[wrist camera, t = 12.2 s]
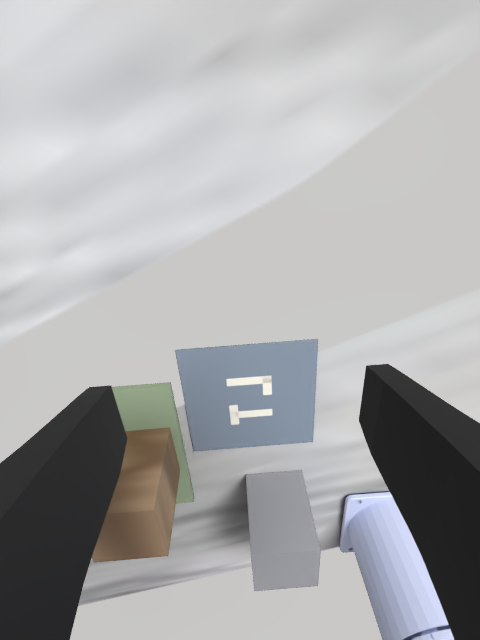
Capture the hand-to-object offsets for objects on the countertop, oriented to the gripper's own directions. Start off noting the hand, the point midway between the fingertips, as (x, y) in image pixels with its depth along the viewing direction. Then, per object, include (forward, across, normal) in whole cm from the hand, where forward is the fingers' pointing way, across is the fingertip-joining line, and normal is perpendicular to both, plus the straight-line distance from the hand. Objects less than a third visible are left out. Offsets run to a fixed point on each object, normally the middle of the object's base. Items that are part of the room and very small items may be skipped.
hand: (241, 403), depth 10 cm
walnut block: (+10, +8, +13) cm, 18 cm away
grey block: (+10, -2, +19) cm, 22 cm away
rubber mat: (+10, +8, +13) cm, 18 cm away
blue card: (+10, 0, +9) cm, 14 cm away
